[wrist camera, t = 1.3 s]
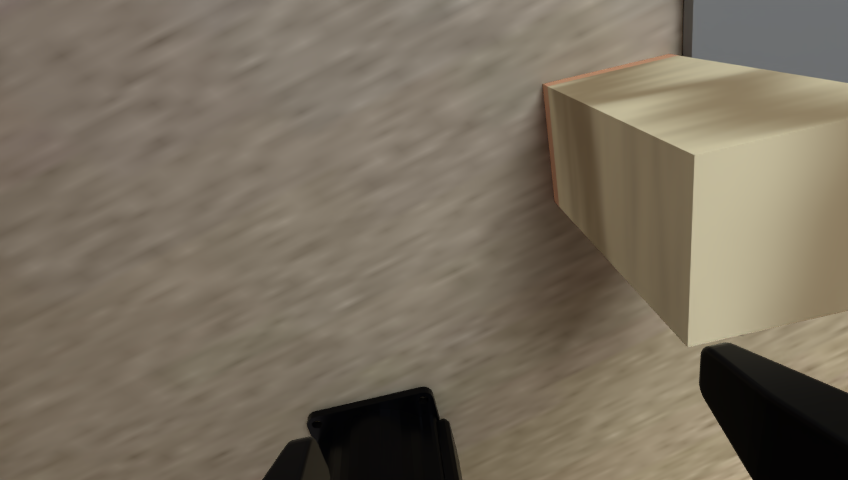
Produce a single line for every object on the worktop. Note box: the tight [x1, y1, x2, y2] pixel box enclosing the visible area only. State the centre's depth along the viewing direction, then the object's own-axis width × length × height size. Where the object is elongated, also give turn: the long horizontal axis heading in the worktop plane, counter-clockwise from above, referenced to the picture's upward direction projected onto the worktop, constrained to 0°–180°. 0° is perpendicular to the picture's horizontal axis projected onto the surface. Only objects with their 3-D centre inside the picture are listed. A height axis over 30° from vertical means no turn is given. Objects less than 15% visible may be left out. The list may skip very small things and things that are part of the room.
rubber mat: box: [683, 0, 848, 83], centre depth 19 cm, size 11×14×1 cm
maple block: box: [543, 54, 848, 347], centre depth 15 cm, size 5×5×10 cm
